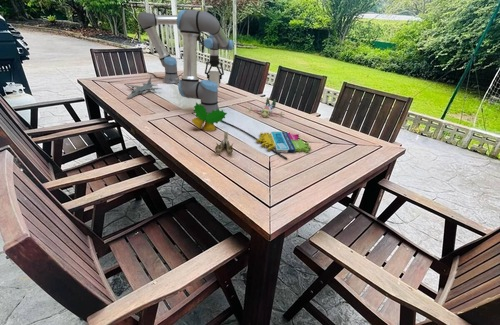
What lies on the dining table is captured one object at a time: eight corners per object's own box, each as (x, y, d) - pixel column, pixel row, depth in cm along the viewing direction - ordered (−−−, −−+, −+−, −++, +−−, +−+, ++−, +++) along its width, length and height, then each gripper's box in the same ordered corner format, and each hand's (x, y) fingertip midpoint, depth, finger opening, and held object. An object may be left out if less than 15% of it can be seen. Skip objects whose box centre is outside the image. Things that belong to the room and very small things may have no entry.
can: (207, 86, 229) (206, 71, 222) (214, 85, 235) (214, 70, 228) (213, 88, 224) (213, 73, 217) (221, 87, 230) (221, 72, 223)
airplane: (121, 88, 233) (119, 76, 228) (157, 85, 246) (156, 75, 241) (125, 101, 205) (123, 88, 199) (166, 97, 218) (165, 85, 213)
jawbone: (234, 135, 144) (233, 125, 135) (233, 160, 138) (232, 151, 129) (217, 135, 144) (216, 125, 135) (216, 160, 138) (214, 150, 129)
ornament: (218, 133, 171) (224, 110, 169) (221, 134, 163) (227, 111, 161) (186, 125, 162) (192, 101, 160) (189, 126, 155) (195, 101, 153)
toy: (288, 100, 208) (284, 110, 182) (287, 109, 211) (283, 120, 186) (254, 96, 213) (245, 105, 187) (254, 104, 216) (245, 115, 190)
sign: (313, 150, 142) (258, 149, 139) (312, 153, 143) (258, 152, 140) (301, 132, 164) (254, 130, 161) (301, 134, 165) (254, 133, 162)
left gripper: (188, 31, 256) (189, 54, 266) (208, 31, 272) (209, 53, 283) (184, 30, 260) (185, 53, 271) (204, 30, 277) (204, 52, 287)
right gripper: (227, 55, 220) (226, 82, 231) (201, 53, 219) (202, 81, 230) (227, 56, 214) (226, 84, 225) (200, 54, 212) (201, 83, 223)
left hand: (197, 53), depth 277 cm, fingers open, 13 cm apart
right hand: (214, 82), depth 227 cm, fingers closed on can, 9 cm apart
